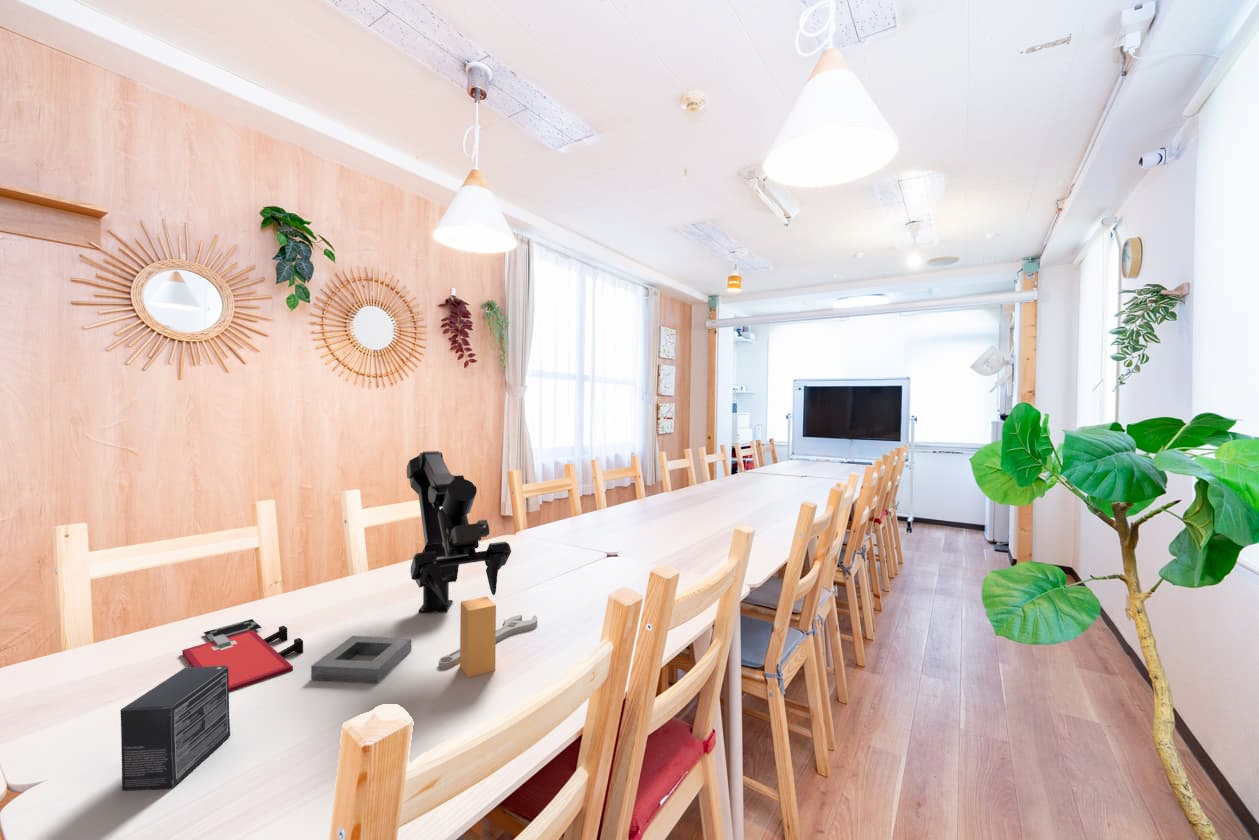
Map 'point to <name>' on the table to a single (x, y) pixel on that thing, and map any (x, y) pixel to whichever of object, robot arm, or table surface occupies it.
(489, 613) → the tall tan rectangular block
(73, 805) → the table surface
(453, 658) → the adjustable wrench
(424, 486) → the robot arm
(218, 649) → the red board with handle
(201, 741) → the small box
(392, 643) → the gray square socket plate
